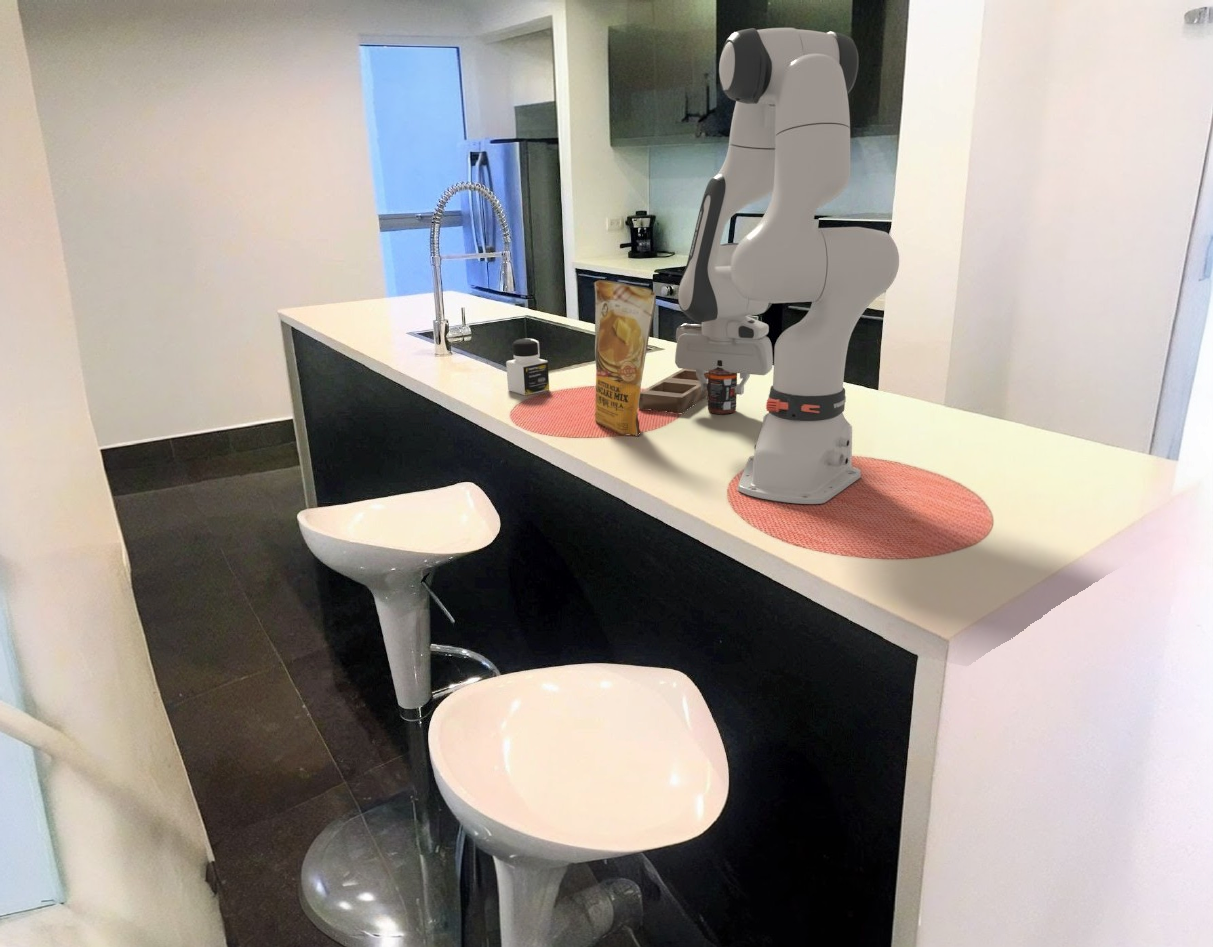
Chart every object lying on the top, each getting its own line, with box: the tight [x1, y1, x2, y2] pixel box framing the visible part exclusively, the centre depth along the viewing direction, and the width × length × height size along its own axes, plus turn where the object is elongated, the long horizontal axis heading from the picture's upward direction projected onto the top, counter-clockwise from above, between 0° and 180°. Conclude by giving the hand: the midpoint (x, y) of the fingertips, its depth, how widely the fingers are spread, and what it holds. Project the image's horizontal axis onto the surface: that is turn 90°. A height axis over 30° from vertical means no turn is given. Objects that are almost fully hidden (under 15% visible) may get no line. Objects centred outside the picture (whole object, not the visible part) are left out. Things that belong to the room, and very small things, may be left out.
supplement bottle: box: [707, 360, 738, 415], centre depth 172 cm, size 6×6×11 cm
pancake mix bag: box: [593, 279, 657, 437], centre depth 162 cm, size 7×19×28 cm, turn 29°
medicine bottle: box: [505, 338, 550, 396], centre depth 194 cm, size 7×7×12 cm
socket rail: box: [638, 368, 709, 414], centre depth 186 cm, size 26×10×4 cm, turn 152°
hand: (722, 392), depth 173 cm, fingers closed on supplement bottle, 6 cm apart
